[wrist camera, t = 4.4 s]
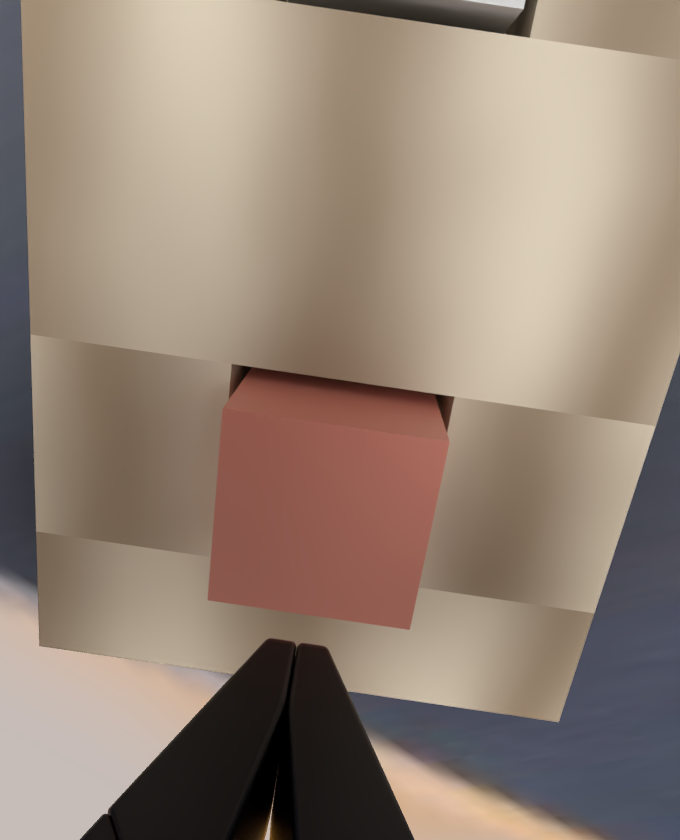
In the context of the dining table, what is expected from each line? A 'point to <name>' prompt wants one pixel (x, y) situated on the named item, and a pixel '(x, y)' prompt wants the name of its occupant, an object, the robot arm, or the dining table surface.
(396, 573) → the button red
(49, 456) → the console
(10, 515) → the dining table surface
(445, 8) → the button grey
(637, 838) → the dining table surface
